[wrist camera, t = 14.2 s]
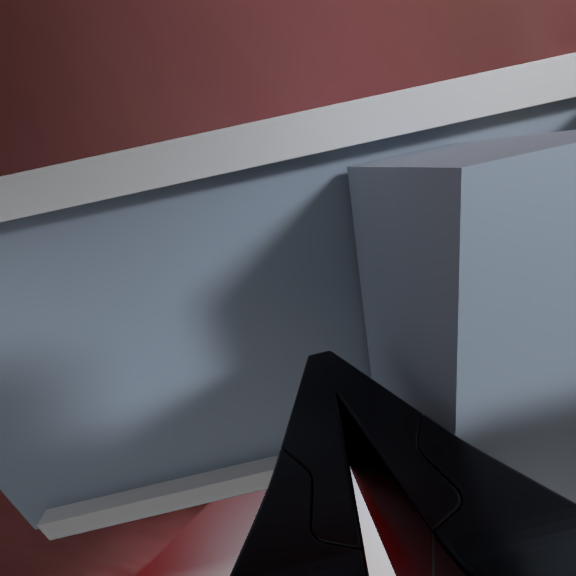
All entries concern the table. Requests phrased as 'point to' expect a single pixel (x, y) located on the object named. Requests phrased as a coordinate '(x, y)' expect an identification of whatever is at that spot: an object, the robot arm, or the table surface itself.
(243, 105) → the table surface
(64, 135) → the table surface
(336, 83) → the table surface
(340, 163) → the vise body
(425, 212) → the block
